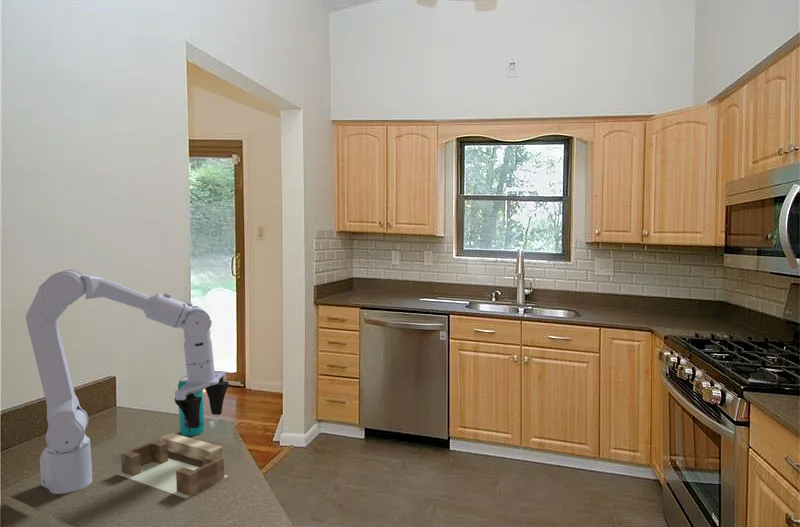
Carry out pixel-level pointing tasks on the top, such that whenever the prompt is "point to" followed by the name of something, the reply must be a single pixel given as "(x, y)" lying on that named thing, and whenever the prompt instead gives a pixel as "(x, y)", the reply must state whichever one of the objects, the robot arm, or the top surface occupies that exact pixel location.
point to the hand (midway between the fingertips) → (205, 420)
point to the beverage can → (184, 425)
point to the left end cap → (143, 457)
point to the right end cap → (200, 476)
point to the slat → (190, 446)
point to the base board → (162, 475)
